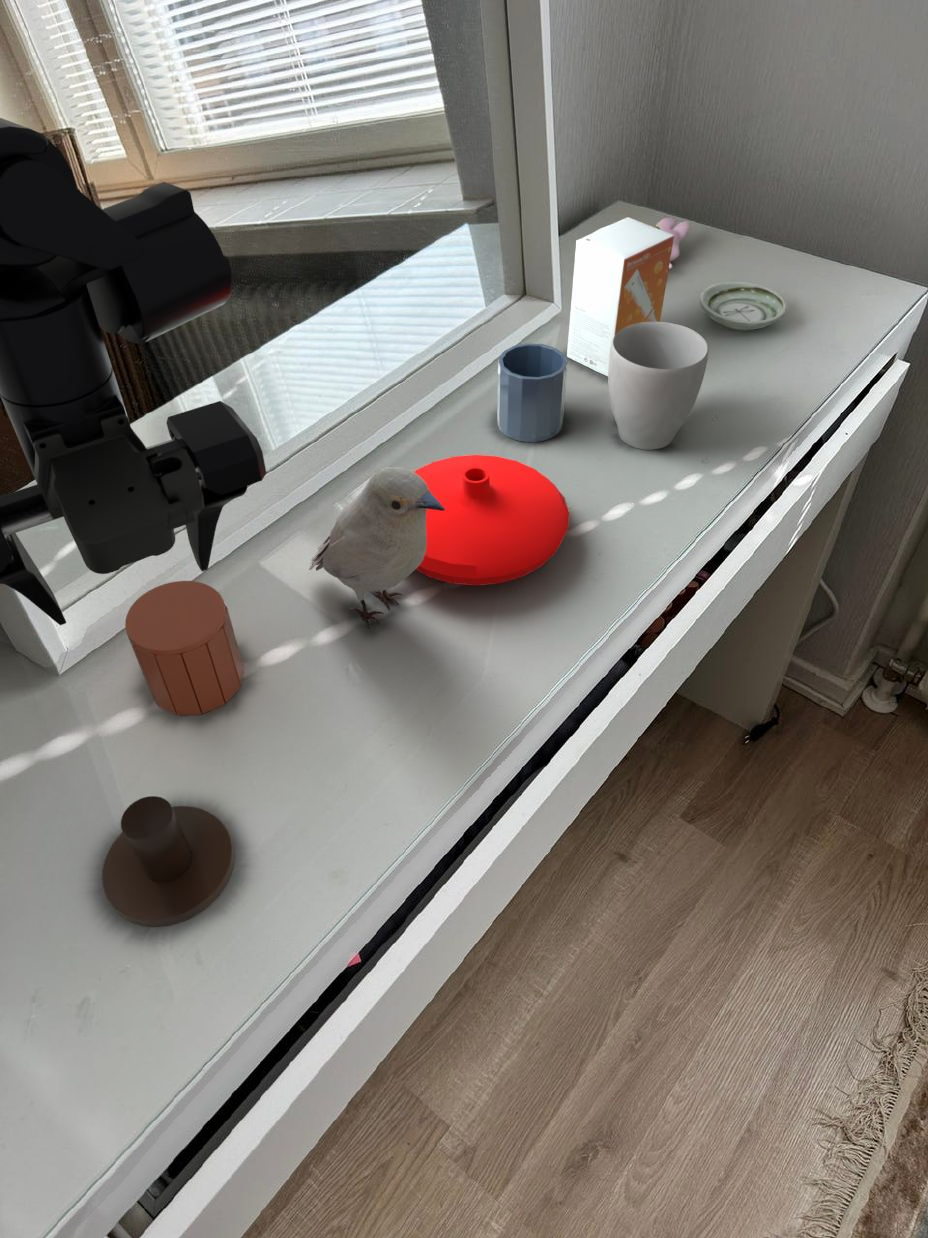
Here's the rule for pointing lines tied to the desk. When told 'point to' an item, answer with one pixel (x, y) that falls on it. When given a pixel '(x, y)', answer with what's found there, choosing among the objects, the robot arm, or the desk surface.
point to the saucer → (743, 305)
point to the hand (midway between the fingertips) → (134, 593)
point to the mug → (654, 380)
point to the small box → (615, 287)
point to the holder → (166, 862)
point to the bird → (379, 535)
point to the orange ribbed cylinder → (185, 647)
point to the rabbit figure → (678, 234)
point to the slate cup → (531, 392)
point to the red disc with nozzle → (490, 520)
